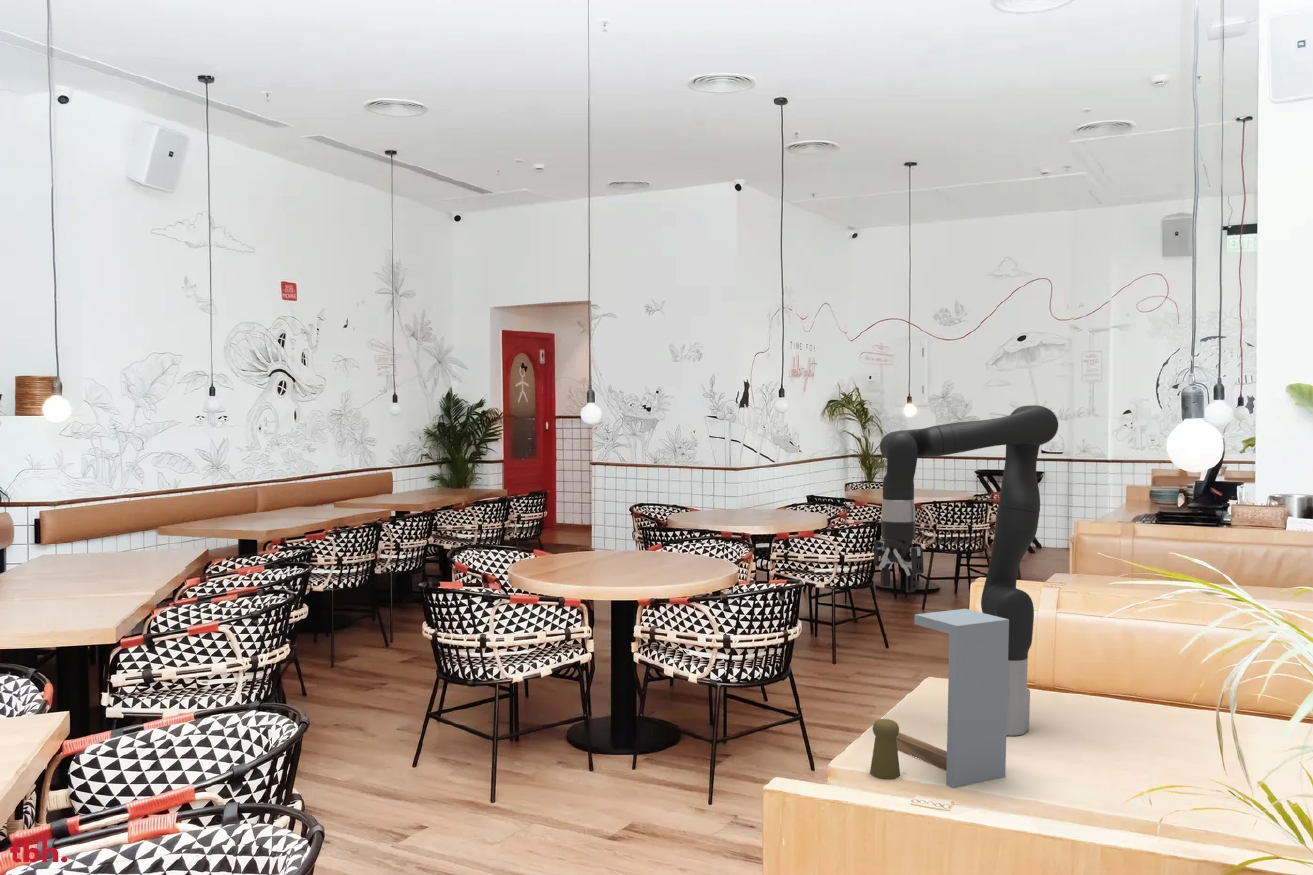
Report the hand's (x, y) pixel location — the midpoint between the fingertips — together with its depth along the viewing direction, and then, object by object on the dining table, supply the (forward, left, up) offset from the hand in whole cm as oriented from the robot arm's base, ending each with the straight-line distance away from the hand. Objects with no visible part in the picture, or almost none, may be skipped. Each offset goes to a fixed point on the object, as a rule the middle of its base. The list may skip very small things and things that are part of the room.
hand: (898, 588), depth 241 cm
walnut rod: (+8, +17, -33) cm, 38 cm away
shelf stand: (+8, +28, -33) cm, 44 cm away
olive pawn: (+22, +22, -33) cm, 45 cm away
